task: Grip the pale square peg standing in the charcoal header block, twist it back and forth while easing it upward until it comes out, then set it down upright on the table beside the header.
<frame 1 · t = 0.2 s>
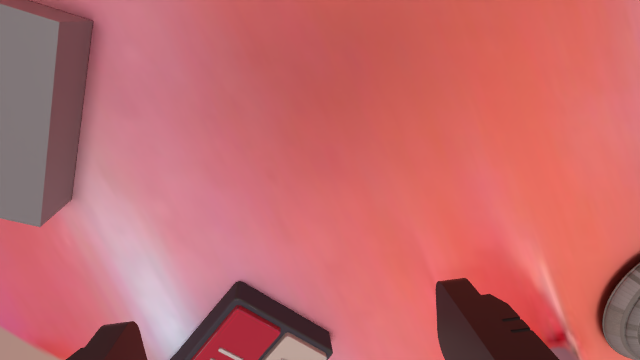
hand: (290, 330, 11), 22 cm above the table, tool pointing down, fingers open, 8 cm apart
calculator: (241, 352, 41), on the table
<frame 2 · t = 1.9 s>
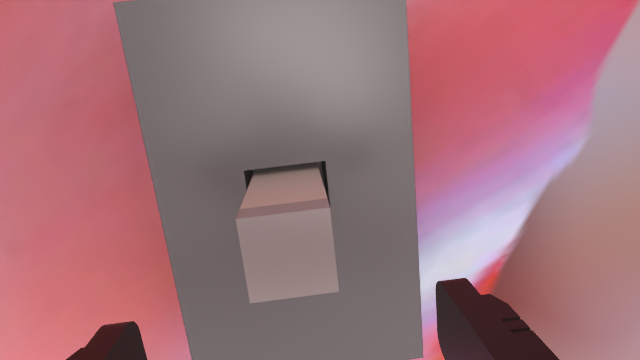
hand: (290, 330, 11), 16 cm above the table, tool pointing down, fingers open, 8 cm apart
pale square peg: (289, 212, 21), in the header
header: (290, 183, 26), on the table
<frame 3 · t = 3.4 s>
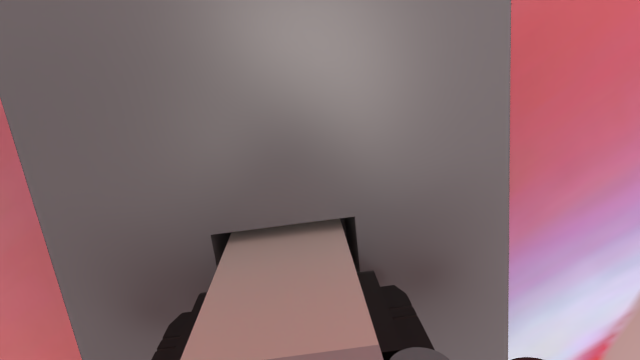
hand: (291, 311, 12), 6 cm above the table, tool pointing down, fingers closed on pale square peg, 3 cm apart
pale square peg: (292, 313, 12), in the header, touching gripper
header: (293, 235, 17), on the table
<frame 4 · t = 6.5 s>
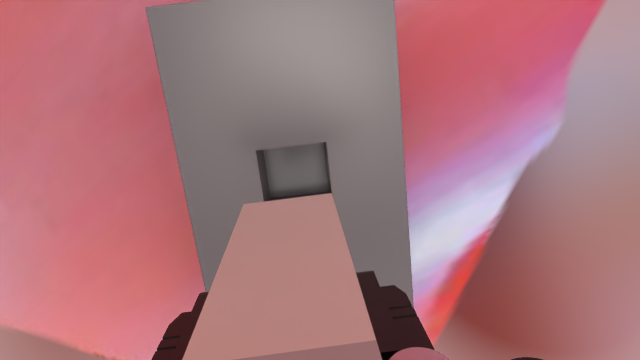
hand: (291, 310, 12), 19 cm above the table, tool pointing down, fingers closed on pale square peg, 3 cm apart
pale square peg: (292, 311, 12), point 19 cm above the table, touching gripper
header: (295, 164, 30), on the table
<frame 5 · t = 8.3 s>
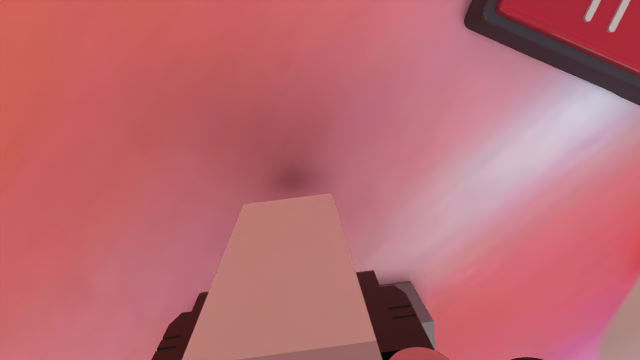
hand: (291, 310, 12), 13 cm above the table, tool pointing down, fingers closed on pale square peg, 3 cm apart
pale square peg: (292, 311, 12), point 13 cm above the table, touching gripper
when the fingers open (6 cm above the table, at t = 9.7 s): pale square peg stays where it is, on the table.
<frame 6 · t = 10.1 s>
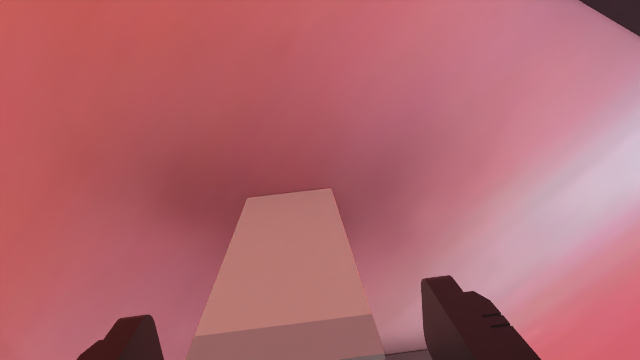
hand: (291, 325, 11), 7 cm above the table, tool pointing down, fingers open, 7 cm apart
pale square peg: (294, 296, 13), on the table
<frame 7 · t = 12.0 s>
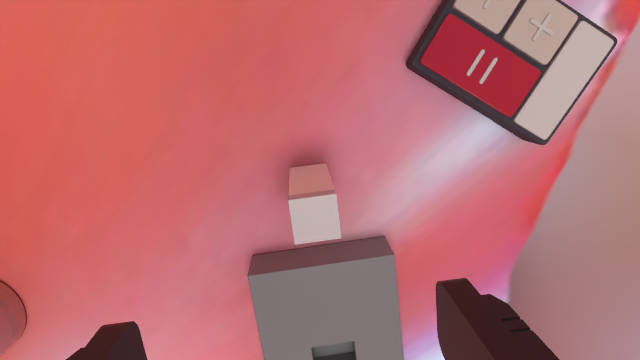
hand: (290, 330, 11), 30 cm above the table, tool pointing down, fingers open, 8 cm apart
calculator: (496, 54, 39), on the table
pale square peg: (312, 198, 36), on the table
header: (331, 334, 45), on the table
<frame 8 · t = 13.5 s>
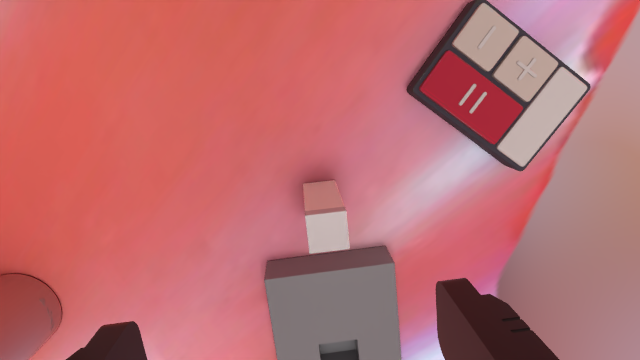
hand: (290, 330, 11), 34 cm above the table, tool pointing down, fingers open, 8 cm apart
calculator: (486, 87, 44), on the table
pale square peg: (323, 212, 40), on the table
header: (336, 333, 50), on the table
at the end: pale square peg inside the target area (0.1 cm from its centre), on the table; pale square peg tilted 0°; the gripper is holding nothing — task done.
